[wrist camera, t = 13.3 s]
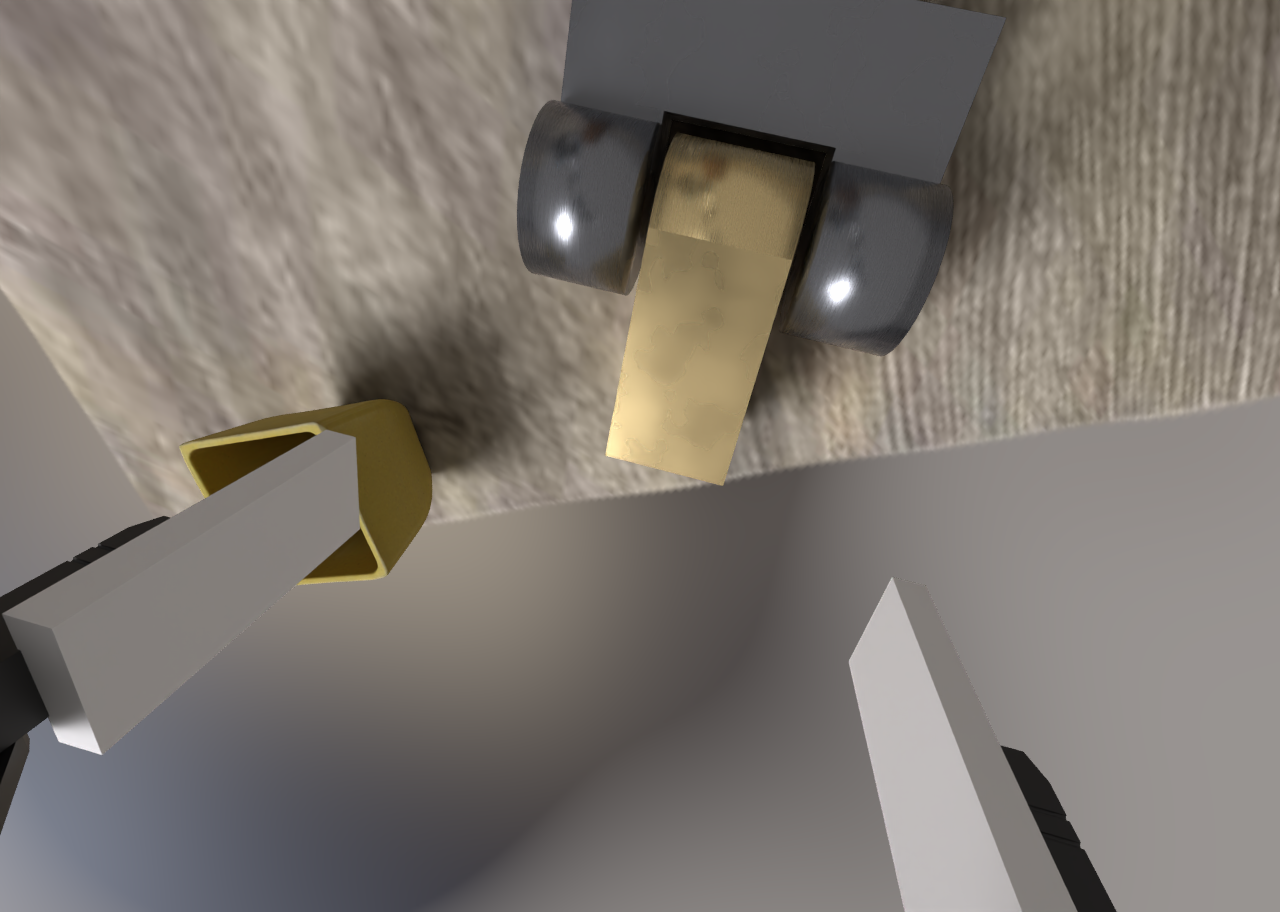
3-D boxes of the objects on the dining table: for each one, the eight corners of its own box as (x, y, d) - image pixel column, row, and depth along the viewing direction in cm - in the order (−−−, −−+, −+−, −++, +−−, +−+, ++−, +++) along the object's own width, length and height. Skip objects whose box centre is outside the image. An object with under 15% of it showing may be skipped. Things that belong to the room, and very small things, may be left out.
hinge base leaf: (598, -37, 24) (545, -120, 17) (975, 39, 22) (1063, -21, 16) (560, 264, 29) (509, 283, 23) (860, 336, 28) (893, 376, 22)
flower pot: (301, 389, 35) (171, 445, 27) (420, 367, 33) (317, 422, 25) (357, 507, 39) (255, 589, 31) (468, 495, 37) (390, 579, 29)
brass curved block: (686, 140, 26) (668, 122, 20) (804, 166, 25) (824, 156, 19) (632, 404, 32) (605, 455, 26) (727, 428, 31) (723, 485, 25)
